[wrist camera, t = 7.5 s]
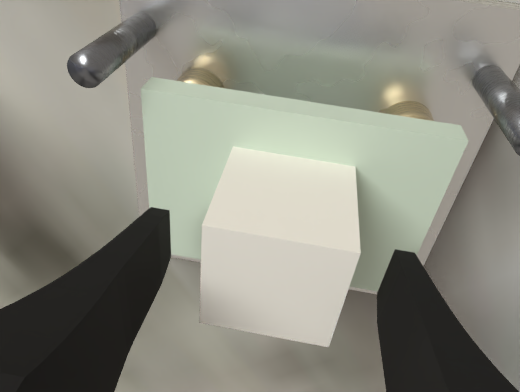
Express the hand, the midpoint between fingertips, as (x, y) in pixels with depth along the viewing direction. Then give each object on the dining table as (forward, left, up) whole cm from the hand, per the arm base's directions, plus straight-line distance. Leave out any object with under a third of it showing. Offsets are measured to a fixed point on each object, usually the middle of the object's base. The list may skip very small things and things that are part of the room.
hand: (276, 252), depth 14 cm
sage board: (0, 0, -3) cm, 3 cm away
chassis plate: (0, 0, -6) cm, 7 cm away
